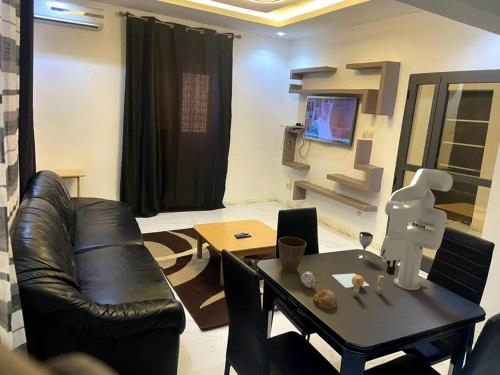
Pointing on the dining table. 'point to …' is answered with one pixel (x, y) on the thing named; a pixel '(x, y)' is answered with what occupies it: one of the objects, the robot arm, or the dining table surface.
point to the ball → (360, 281)
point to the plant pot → (291, 252)
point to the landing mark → (347, 280)
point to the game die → (308, 279)
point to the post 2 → (380, 285)
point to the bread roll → (325, 299)
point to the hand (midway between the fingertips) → (390, 273)
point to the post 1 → (356, 286)
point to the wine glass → (365, 242)
